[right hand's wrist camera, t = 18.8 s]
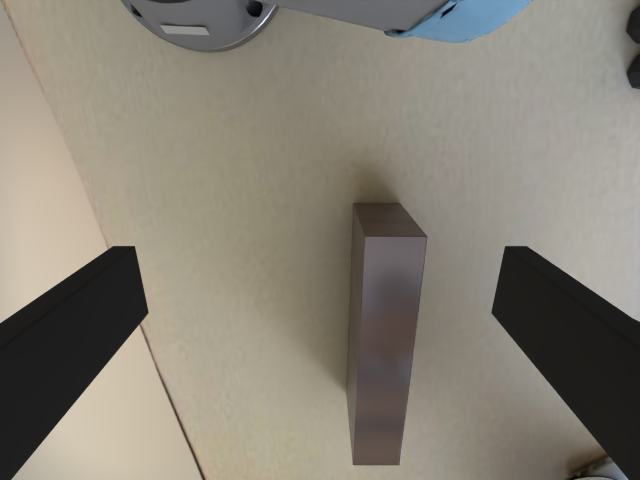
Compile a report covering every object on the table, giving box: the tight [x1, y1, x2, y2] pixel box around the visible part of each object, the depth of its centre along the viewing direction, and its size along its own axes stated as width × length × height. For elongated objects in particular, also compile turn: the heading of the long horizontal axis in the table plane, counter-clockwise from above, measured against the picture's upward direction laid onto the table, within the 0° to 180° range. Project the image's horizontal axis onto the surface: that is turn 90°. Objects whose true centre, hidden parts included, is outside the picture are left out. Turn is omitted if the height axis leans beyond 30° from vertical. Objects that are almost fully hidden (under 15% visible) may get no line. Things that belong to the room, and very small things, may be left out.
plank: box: [346, 203, 427, 465], centre depth 37 cm, size 26×5×10 cm, turn 0°
